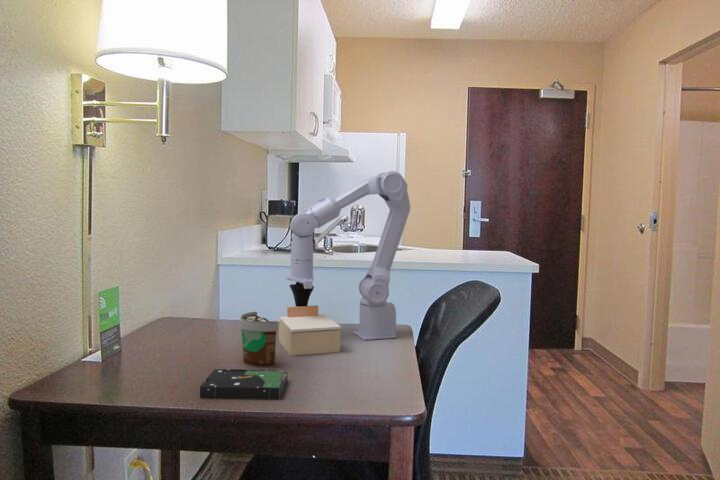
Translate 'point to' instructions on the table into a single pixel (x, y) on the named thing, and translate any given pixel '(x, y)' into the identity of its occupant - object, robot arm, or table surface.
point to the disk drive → (244, 384)
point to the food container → (258, 339)
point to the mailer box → (309, 341)
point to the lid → (307, 319)
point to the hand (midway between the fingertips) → (301, 311)
